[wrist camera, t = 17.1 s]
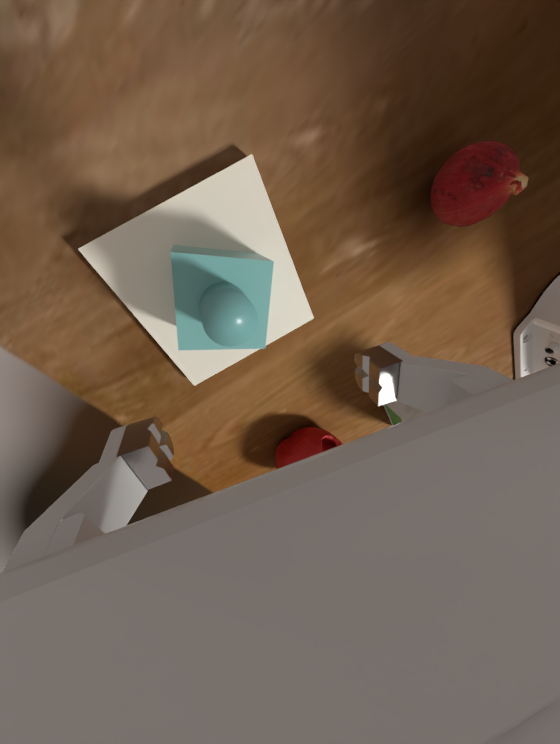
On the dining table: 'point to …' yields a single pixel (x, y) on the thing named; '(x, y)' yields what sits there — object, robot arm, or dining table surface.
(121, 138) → the dining table surface
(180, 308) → the teal knobbed block
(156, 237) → the post stand
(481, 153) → the onion
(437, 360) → the robot arm
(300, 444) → the pomegranate
